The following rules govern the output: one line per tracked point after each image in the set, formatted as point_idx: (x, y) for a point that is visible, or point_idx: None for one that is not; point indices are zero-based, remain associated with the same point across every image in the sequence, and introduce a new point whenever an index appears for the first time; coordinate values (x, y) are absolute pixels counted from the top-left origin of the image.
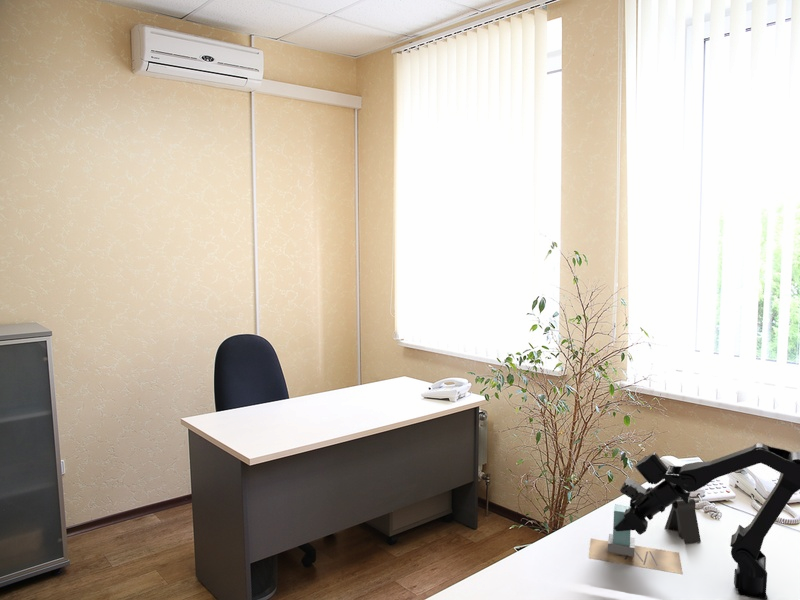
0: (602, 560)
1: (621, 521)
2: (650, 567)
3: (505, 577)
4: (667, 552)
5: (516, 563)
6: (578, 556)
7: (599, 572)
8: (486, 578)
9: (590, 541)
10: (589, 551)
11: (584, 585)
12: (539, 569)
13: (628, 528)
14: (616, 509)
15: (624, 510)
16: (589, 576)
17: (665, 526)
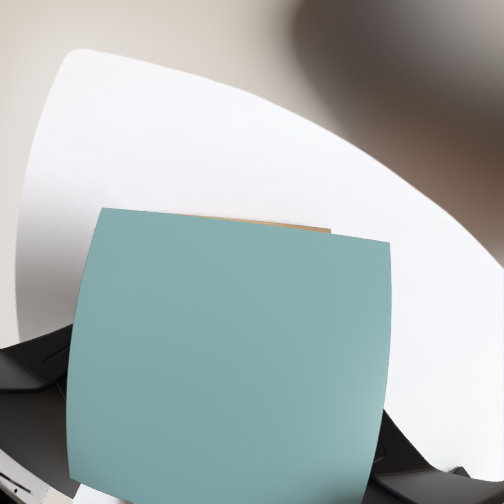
0: None
1: (64, 328)
2: None
3: (95, 74)
4: None
5: (146, 73)
6: (204, 190)
7: None
8: (96, 58)
9: (303, 226)
10: (210, 217)
11: (44, 210)
12: (118, 109)
13: None
14: (145, 252)
15: (136, 405)
16: (81, 223)
17: (466, 474)
